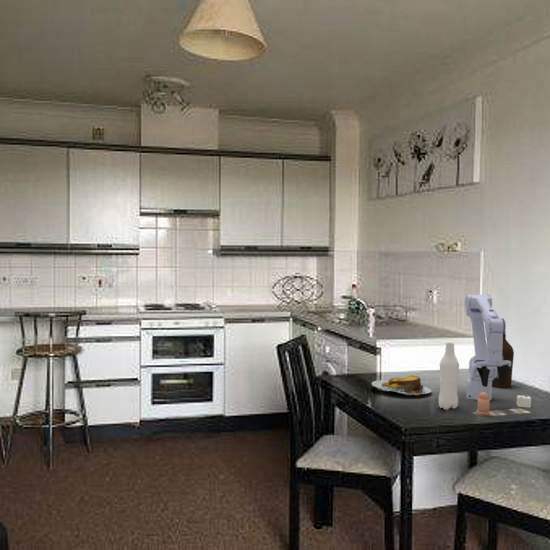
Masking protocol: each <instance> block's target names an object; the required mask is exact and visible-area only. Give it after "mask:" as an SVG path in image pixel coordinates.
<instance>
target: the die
mask: <svg viewBox="0 0 550 550" xmlns="http://www.w3.org/2000/svg"><path fill="white" fill-rule="evenodd" d="M516 406H517V407H518V408H532V398H531V396H530V395H516Z"/></svg>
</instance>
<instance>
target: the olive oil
mask: <svg viewBox="0 0 550 550" xmlns="http://www.w3.org/2000/svg"><path fill="white" fill-rule="evenodd" d="M502 334H503V333H502ZM506 336H507V334H506V330H505V333H504V334H503V346H502V360H508V361H511V366H508V367H511V370H510V372H509V373H508V375H507V377H506V380H505V383H504V386H502V385H499V383H498V369H497V376H496V377H495V378H493V380H492V388H498V389H499V388H500V389H509V387H510V388H511V387H512V379H513V368H514V367H513V366H514V359H515V358H514V356H515V353H514V352H515V350H514V348H513V346H512V345H511V344H510V343H509V342H508V341H507V339H506V338H507V337H506Z"/></svg>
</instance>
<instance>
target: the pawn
mask: <svg viewBox="0 0 550 550" xmlns="http://www.w3.org/2000/svg"><path fill="white" fill-rule="evenodd" d="M489 400H490V399H489V396H488V394H487V393H485V392H482V393H480V394H479V397H478V400H477V409H476V412H477V414H478V415H477V414H476V415H477V416H479V415H482V416H487V417H490V416H489V415H490V411H491V410H490V401H491V400H490V401H489ZM482 416H481V417H482Z"/></svg>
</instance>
